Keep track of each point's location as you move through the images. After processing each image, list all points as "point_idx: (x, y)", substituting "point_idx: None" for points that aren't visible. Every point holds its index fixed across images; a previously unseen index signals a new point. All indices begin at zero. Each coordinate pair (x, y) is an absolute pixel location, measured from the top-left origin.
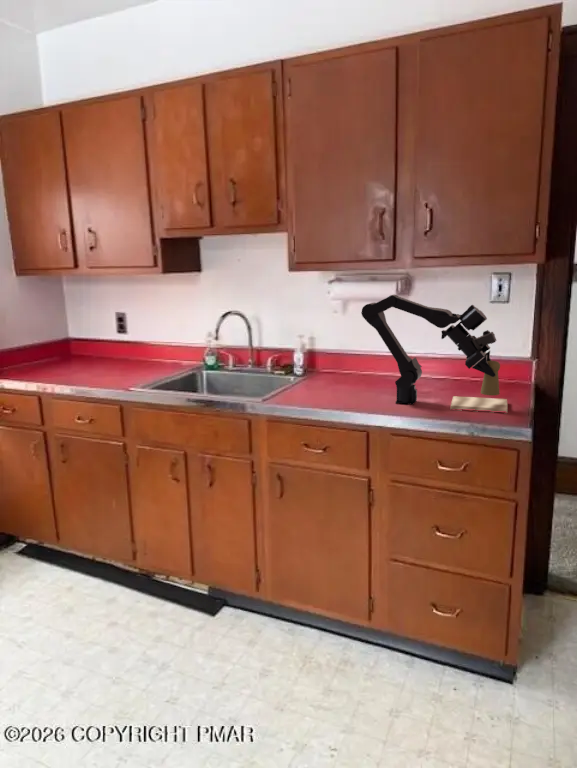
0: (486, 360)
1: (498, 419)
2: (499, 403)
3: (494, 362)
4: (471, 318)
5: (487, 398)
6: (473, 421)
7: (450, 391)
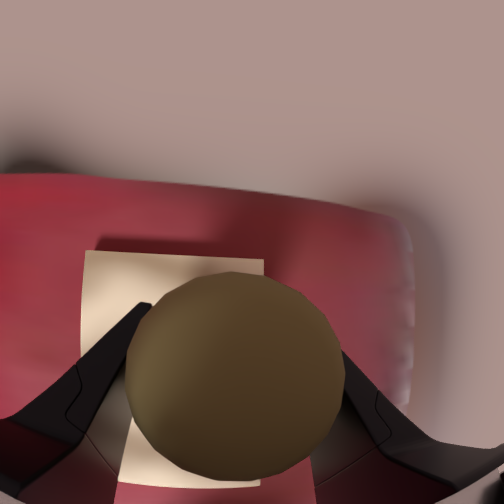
0: (441, 447)
1: (350, 298)
2: (170, 290)
3: (317, 355)
4: None
5: (87, 340)
6: (387, 378)
7: None
